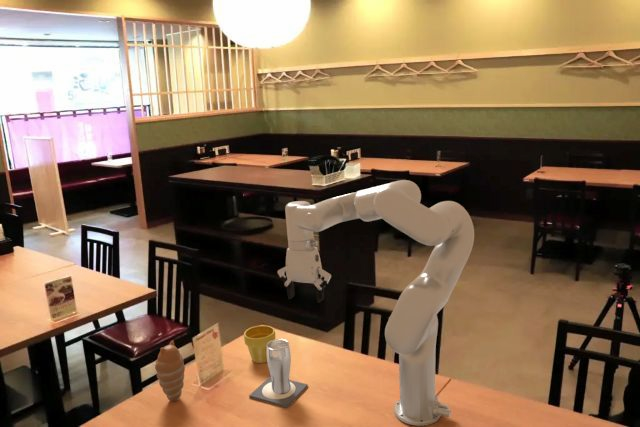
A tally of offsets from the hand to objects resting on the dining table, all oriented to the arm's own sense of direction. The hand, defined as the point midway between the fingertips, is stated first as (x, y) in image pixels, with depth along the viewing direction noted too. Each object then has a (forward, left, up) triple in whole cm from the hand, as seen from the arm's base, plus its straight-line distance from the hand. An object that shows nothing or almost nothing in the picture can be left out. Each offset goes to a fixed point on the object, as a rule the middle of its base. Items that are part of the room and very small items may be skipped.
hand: (305, 299), depth 157 cm
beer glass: (+5, +9, -26) cm, 28 cm away
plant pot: (+22, -6, -27) cm, 35 cm away
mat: (+6, +9, -27) cm, 29 cm away
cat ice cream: (+32, +25, -27) cm, 49 cm away
